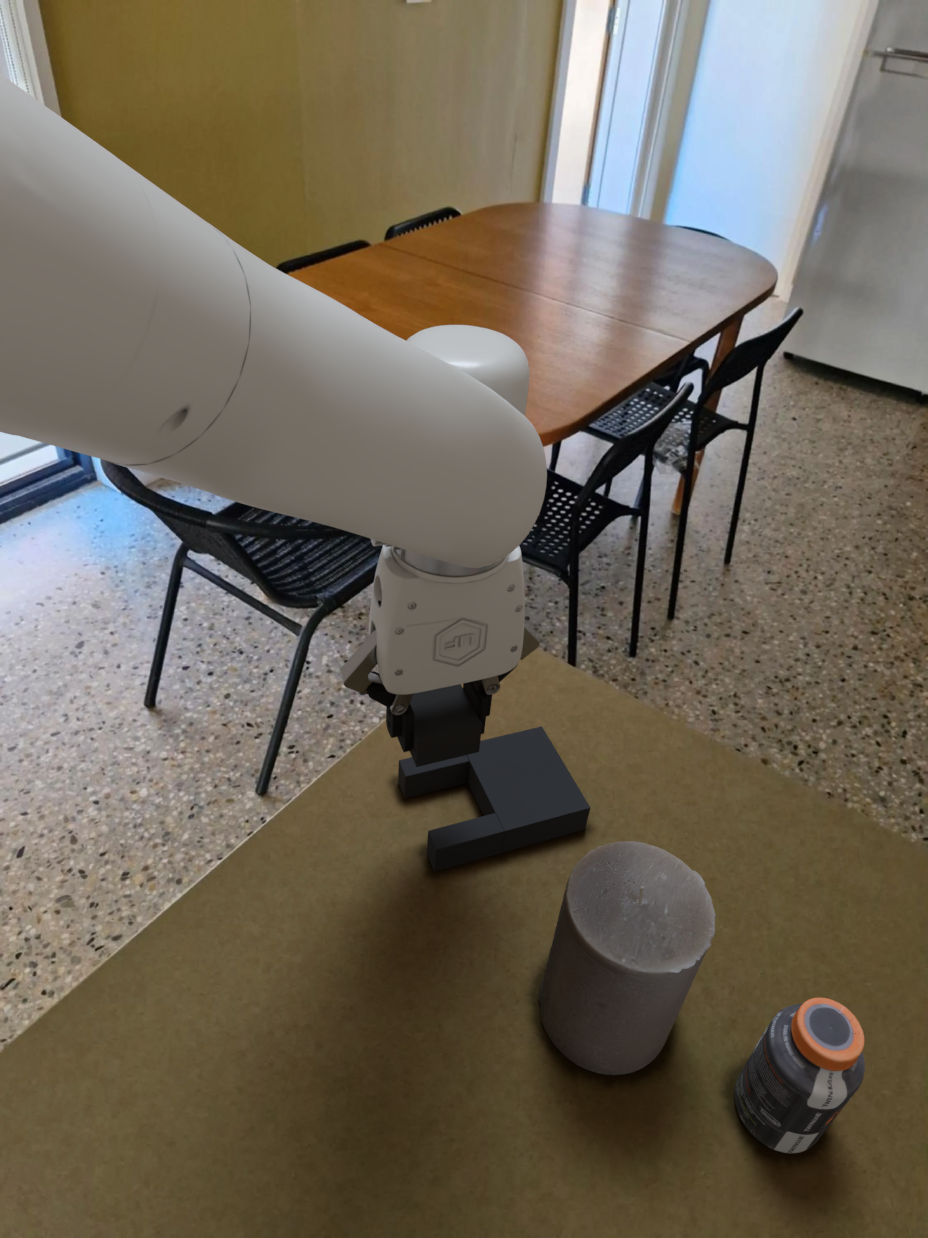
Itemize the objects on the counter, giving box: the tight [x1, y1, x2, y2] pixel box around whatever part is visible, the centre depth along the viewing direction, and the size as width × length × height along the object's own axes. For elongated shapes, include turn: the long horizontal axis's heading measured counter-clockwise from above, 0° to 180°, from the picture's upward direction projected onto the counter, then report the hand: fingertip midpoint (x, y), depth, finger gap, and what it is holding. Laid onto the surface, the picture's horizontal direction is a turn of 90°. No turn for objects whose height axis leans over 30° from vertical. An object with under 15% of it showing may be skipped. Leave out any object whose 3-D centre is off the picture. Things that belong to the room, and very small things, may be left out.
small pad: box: [409, 684, 482, 767], centre depth 67 cm, size 5×5×3 cm
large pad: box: [397, 726, 591, 872], centre depth 78 cm, size 14×10×3 cm
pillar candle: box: [537, 840, 717, 1076], centre depth 60 cm, size 10×10×15 cm
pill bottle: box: [734, 997, 866, 1154], centre depth 57 cm, size 6×6×11 cm
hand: (437, 728), depth 67 cm, fingers closed on small pad, 5 cm apart
